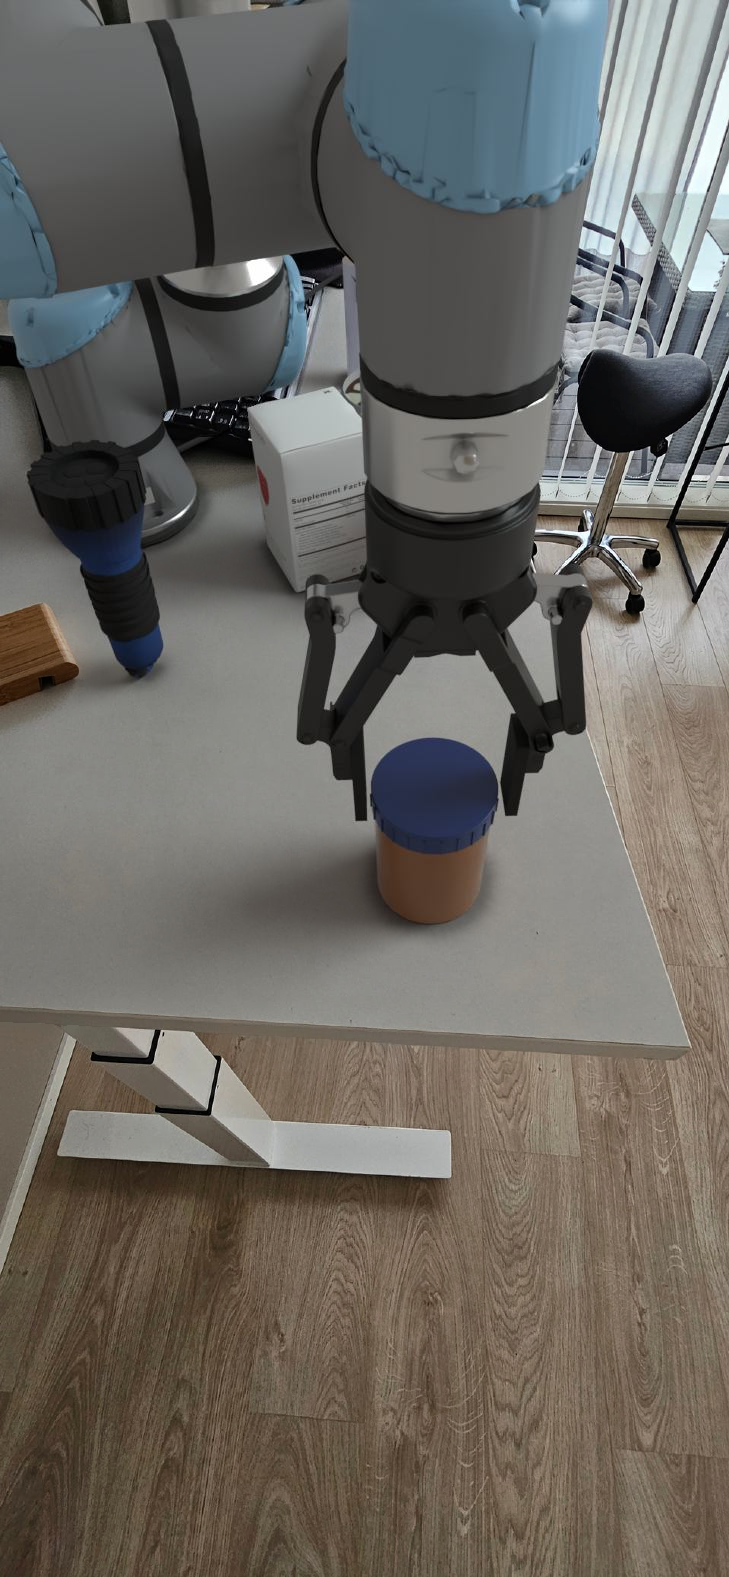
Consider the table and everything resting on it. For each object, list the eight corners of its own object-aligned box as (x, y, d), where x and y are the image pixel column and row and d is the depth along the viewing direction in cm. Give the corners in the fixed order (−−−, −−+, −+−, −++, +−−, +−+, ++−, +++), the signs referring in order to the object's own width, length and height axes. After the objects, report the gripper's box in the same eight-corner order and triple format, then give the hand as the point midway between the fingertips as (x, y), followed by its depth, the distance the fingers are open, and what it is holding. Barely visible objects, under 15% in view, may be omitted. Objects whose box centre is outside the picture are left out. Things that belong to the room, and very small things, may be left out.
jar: (380, 833, 62) (377, 742, 54) (480, 837, 62) (493, 746, 53) (374, 921, 58) (370, 836, 49) (481, 926, 57) (496, 842, 49)
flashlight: (197, 638, 77) (145, 436, 61) (187, 699, 72) (129, 495, 56) (112, 641, 77) (39, 440, 61) (97, 702, 72) (13, 500, 56)
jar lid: (374, 753, 55) (374, 734, 54) (494, 757, 55) (497, 738, 53) (366, 852, 50) (365, 835, 49) (498, 858, 50) (501, 840, 48)
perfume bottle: (335, 379, 107) (324, 199, 92) (371, 366, 109) (366, 188, 93) (358, 396, 104) (351, 213, 89) (395, 383, 106) (395, 202, 90)
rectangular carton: (264, 545, 85) (243, 404, 73) (343, 523, 87) (335, 383, 75) (294, 595, 80) (276, 452, 68) (377, 570, 82) (374, 428, 70)
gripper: (188, 538, 32) (263, 856, 50) (735, 517, 32) (615, 844, 49) (208, 440, 37) (270, 762, 54) (685, 420, 36) (592, 751, 54)
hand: (434, 801), depth 52 cm, fingers open, 9 cm apart
